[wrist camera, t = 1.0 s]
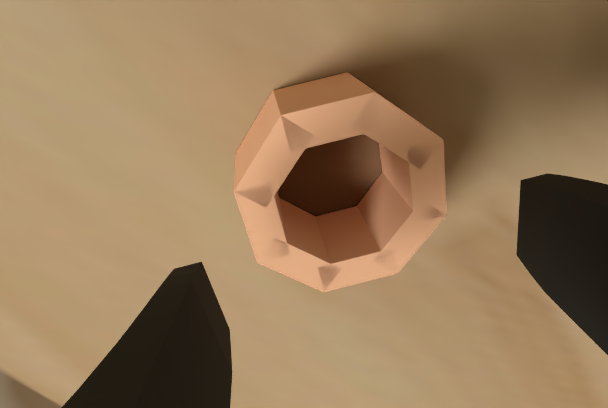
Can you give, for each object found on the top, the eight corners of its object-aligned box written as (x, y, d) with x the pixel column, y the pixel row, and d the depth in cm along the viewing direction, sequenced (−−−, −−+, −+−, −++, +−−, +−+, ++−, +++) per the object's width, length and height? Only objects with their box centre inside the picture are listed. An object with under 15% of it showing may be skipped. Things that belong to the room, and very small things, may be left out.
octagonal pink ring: (399, 59, 13) (440, 75, 10) (413, 214, 15) (449, 260, 13) (220, 103, 13) (214, 131, 10) (266, 252, 15) (271, 305, 13)
